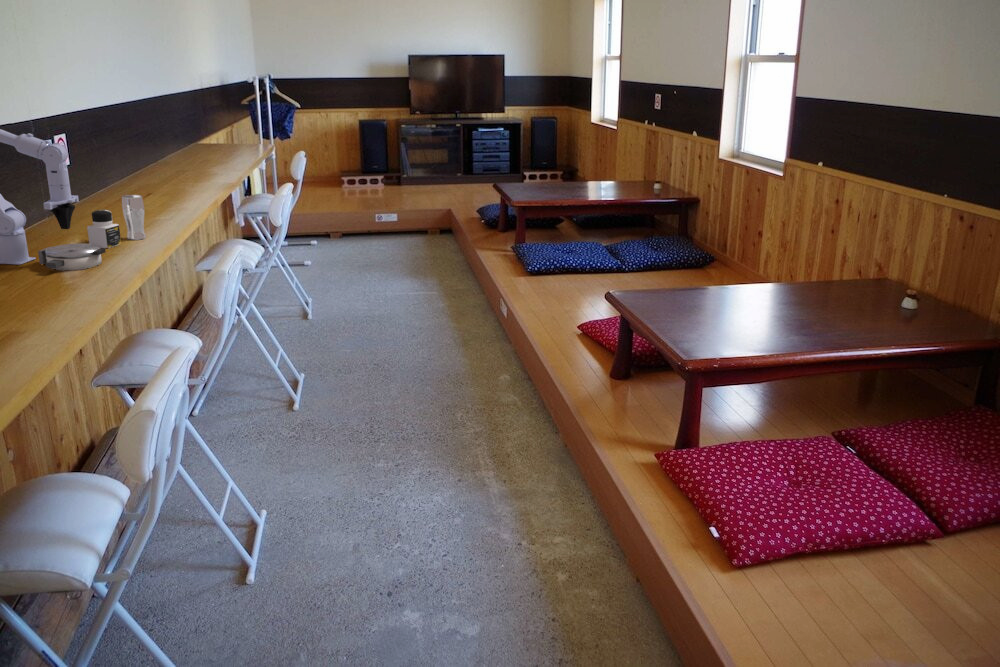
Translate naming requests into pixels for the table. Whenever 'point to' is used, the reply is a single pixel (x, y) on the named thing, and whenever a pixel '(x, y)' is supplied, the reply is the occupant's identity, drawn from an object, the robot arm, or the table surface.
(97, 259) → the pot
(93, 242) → the medicine bottle
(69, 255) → the lid
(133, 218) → the beer glass
